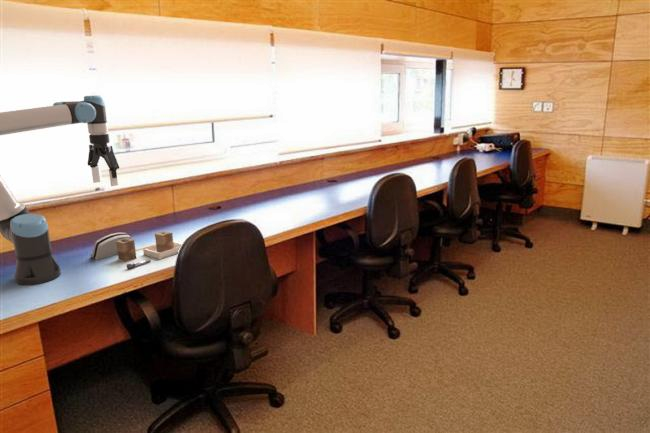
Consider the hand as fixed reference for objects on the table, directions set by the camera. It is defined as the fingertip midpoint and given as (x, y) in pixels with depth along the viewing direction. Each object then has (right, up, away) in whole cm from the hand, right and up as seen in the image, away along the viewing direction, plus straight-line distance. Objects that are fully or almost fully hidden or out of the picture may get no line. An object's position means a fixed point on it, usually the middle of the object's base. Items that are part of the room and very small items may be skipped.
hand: (105, 184), depth 216 cm
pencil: (+16, -28, +8) cm, 33 cm away
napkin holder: (+3, -30, 0) cm, 30 cm away
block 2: (+26, -29, 0) cm, 38 cm away
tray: (+26, -29, 0) cm, 39 cm away
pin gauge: (+20, -33, -14) cm, 41 cm away
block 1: (+12, -31, -7) cm, 34 cm away
